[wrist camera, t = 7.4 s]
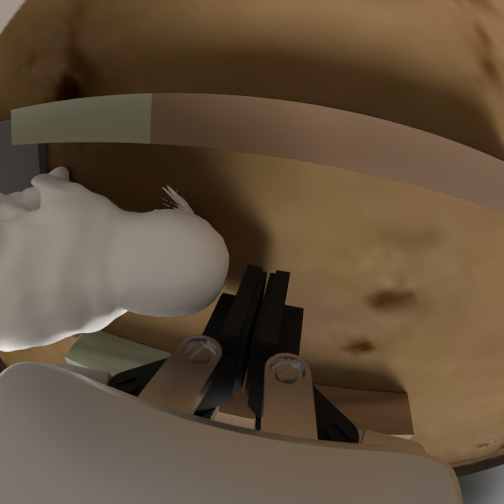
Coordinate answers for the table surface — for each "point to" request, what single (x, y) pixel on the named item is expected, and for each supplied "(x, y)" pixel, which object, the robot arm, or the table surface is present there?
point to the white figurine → (98, 262)
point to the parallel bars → (274, 144)
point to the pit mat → (19, 163)
